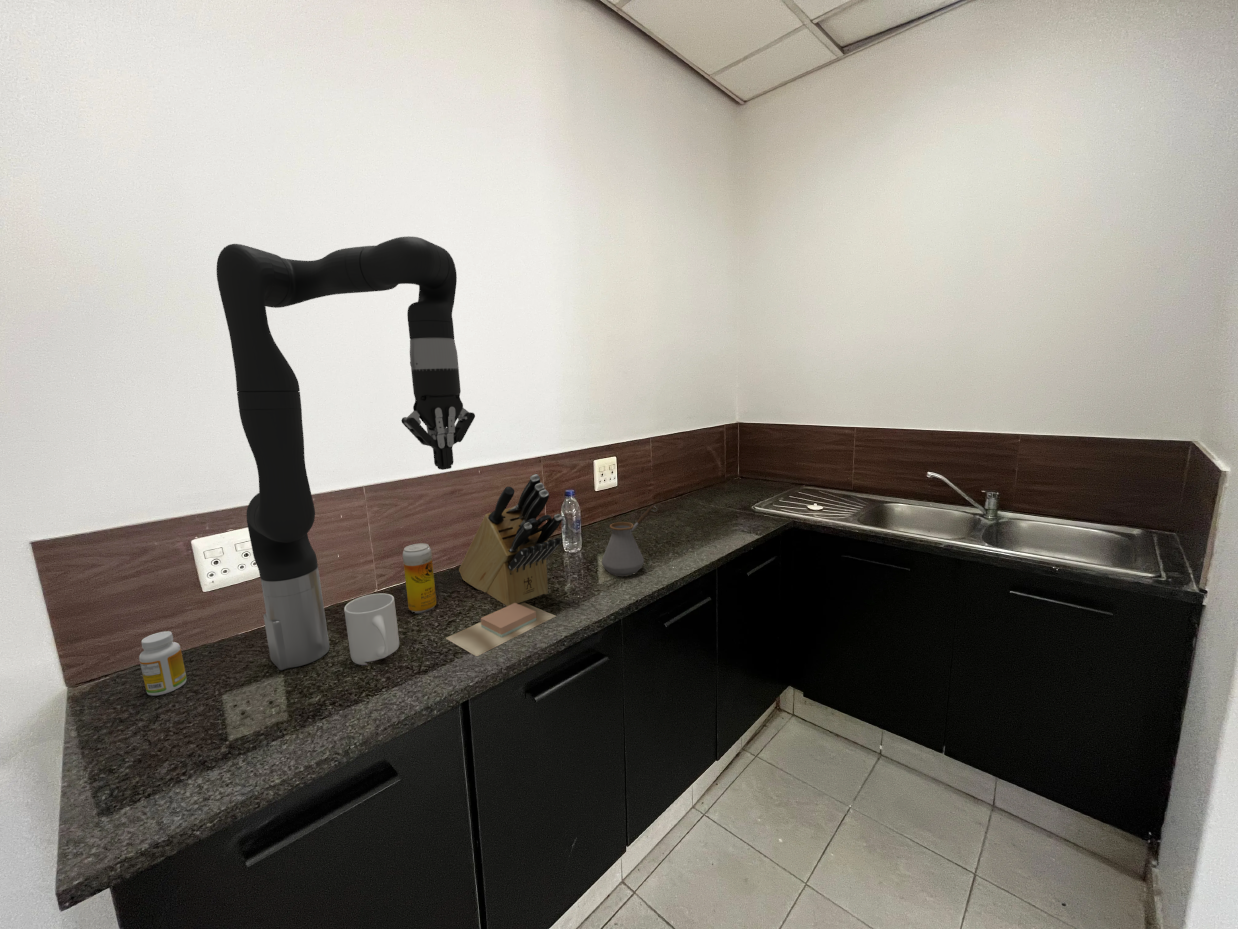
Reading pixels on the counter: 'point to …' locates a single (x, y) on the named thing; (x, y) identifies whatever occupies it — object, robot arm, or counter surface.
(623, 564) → the coffee pot
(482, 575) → the knife block
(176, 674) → the supplement bottle
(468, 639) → the board
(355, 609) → the mug
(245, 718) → the counter surface
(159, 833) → the counter surface
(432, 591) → the beer can
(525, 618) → the pink rectangular block
